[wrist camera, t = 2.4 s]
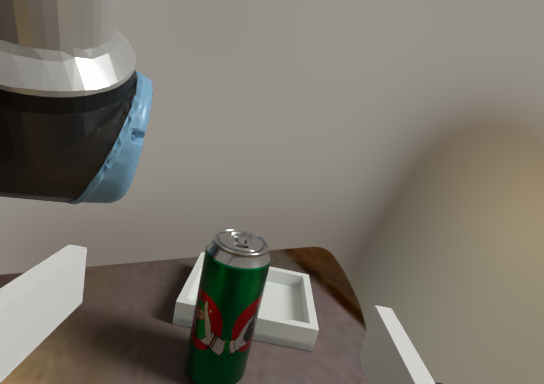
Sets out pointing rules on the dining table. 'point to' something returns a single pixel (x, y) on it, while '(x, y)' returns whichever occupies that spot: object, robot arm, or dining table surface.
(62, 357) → the dining table surface
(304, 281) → the tray
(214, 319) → the soda can
